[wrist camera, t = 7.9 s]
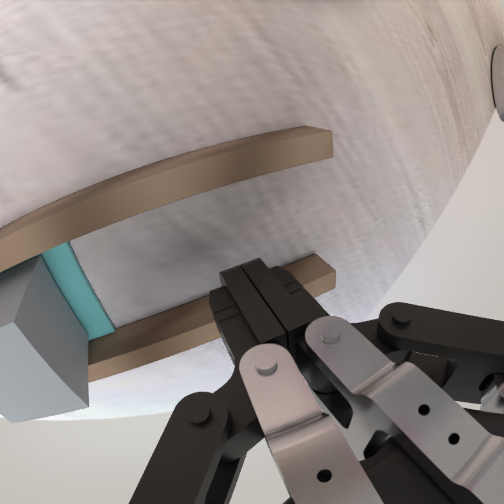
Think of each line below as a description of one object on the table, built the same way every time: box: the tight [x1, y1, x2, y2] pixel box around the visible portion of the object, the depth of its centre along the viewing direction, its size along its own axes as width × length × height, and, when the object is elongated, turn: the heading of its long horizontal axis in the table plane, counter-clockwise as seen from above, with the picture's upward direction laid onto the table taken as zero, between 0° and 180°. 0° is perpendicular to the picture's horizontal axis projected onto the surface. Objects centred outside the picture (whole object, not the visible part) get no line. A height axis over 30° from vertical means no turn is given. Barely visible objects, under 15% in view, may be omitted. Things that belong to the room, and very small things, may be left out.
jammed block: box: [0, 255, 89, 423], centre depth 9 cm, size 5×5×4 cm
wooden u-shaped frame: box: [0, 126, 336, 383], centre depth 12 cm, size 20×9×2 cm, turn 99°
